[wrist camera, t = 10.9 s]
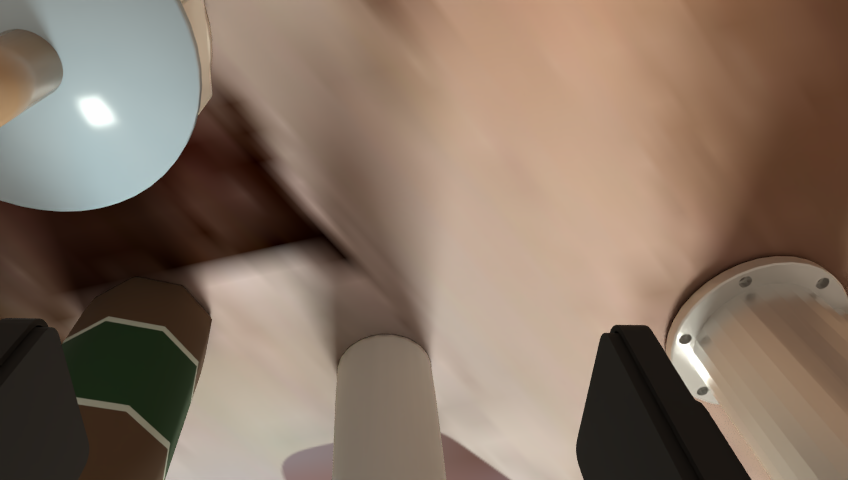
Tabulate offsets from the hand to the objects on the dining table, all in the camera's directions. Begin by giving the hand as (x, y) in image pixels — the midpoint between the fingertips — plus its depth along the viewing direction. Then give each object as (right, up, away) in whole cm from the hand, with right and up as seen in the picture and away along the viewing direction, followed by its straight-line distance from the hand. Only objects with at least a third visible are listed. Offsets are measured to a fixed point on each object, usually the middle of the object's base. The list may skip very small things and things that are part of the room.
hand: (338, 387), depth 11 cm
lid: (-15, +10, +15) cm, 24 cm away
